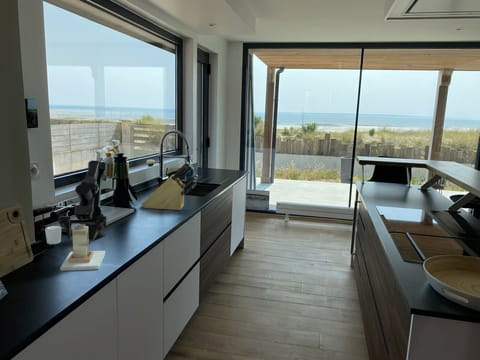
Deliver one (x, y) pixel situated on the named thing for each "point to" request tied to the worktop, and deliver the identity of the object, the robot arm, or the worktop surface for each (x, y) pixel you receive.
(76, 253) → the maple pillar
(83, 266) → the base plate
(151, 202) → the knife block
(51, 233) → the white cup
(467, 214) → the worktop surface
